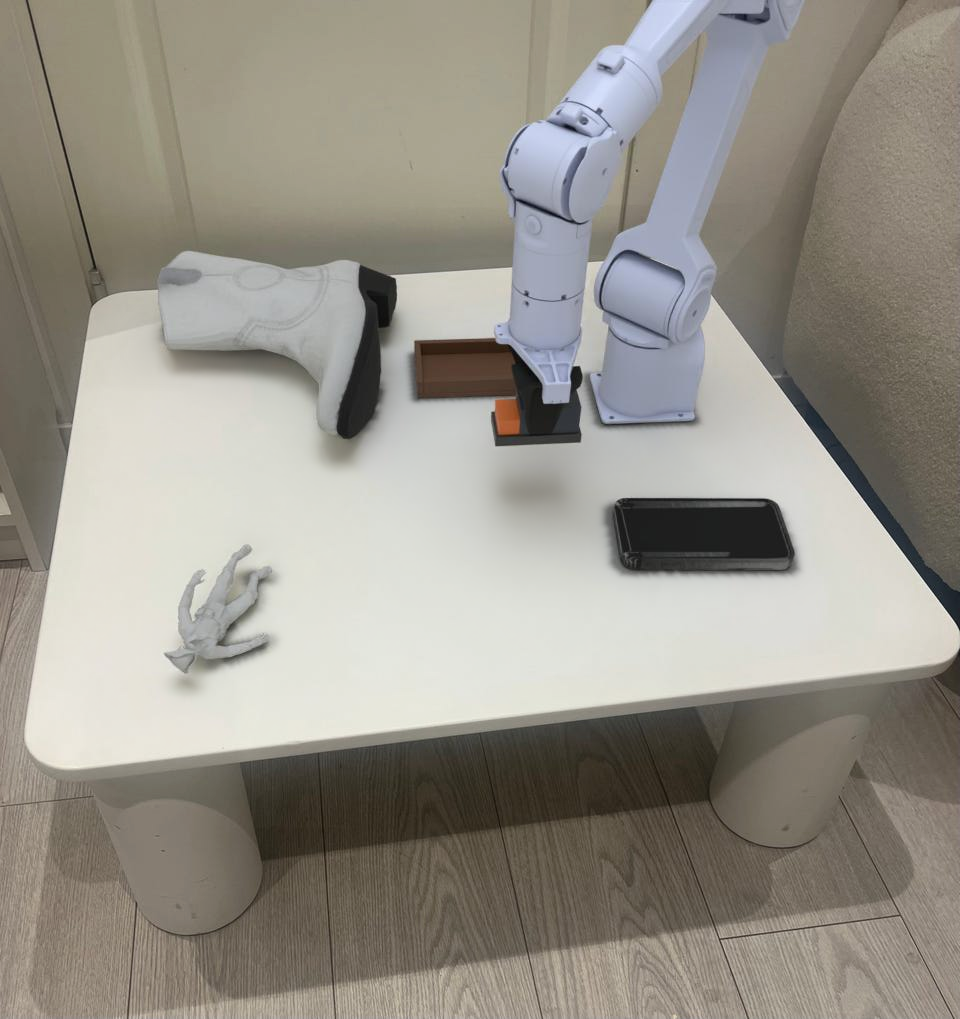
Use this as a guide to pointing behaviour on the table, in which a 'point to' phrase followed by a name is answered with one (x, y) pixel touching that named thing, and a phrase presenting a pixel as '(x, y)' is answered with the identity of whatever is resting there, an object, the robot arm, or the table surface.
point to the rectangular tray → (463, 368)
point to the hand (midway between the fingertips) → (536, 416)
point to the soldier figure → (215, 616)
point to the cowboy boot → (287, 322)
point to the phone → (702, 534)
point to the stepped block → (514, 429)
